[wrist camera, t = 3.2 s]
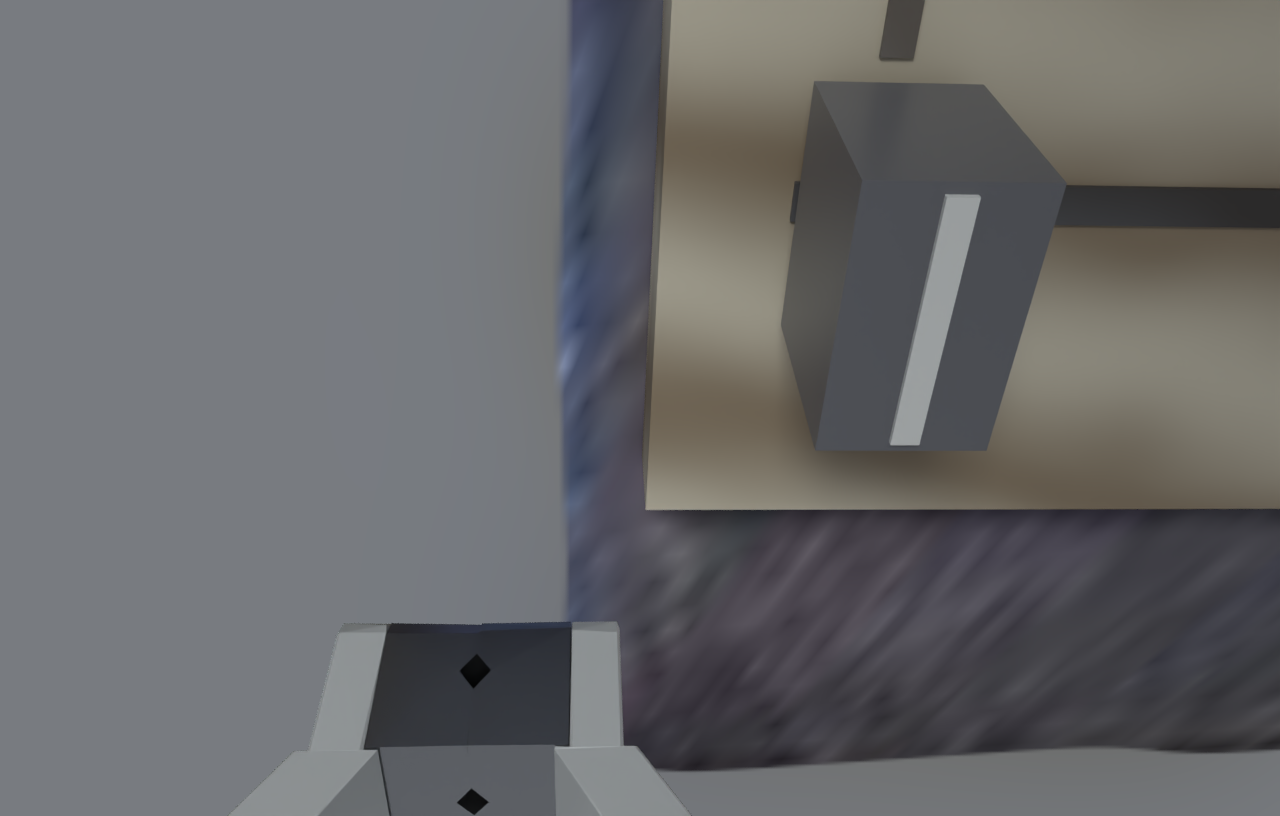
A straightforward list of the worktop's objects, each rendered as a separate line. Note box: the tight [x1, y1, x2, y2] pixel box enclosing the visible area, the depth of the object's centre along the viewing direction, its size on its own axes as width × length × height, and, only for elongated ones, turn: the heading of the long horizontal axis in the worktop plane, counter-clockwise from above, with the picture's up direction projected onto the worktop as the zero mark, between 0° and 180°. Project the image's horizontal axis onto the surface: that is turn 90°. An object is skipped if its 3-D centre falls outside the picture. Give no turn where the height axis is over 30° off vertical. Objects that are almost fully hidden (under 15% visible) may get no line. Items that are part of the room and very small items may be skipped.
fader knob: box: [781, 81, 1067, 451], centre depth 18 cm, size 5×3×4 cm, turn 178°
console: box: [642, 0, 1280, 510], centre depth 21 cm, size 16×24×2 cm, turn 88°
